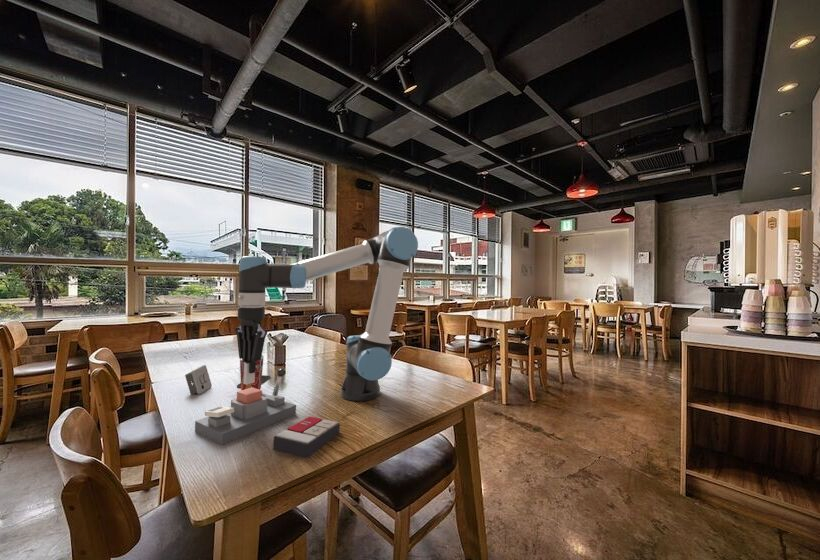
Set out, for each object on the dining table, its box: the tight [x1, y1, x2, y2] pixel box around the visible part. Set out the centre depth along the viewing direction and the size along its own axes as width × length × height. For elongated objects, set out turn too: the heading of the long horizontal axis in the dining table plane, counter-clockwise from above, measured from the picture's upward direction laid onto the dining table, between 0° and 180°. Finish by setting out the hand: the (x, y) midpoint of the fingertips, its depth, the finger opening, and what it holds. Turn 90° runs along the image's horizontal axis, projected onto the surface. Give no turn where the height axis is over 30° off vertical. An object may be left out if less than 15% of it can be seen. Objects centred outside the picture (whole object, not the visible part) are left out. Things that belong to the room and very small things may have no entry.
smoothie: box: [239, 354, 264, 391], centre depth 125 cm, size 8×8×20 cm
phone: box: [236, 374, 271, 389], centre depth 138 cm, size 8×1×15 cm
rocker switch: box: [204, 406, 234, 417], centre depth 93 cm, size 4×7×1 cm, turn 59°
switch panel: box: [194, 394, 297, 446], centre depth 100 cm, size 24×14×7 cm, turn 149°
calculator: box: [272, 416, 341, 459], centre depth 90 cm, size 11×4×15 cm
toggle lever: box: [272, 368, 287, 396], centre depth 107 cm, size 3×3×10 cm
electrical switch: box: [184, 364, 213, 395], centre depth 126 cm, size 9×5×9 cm, turn 7°
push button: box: [236, 387, 263, 404], centre depth 100 cm, size 5×5×4 cm
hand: (249, 382), depth 100 cm, fingers closed
